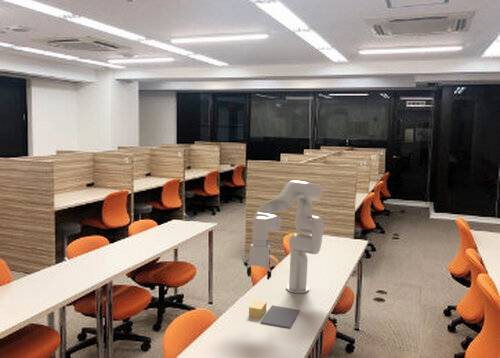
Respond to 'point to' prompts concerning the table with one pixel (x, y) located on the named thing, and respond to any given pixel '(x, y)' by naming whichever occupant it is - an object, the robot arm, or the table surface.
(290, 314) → the mat
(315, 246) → the robot arm
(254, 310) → the box
